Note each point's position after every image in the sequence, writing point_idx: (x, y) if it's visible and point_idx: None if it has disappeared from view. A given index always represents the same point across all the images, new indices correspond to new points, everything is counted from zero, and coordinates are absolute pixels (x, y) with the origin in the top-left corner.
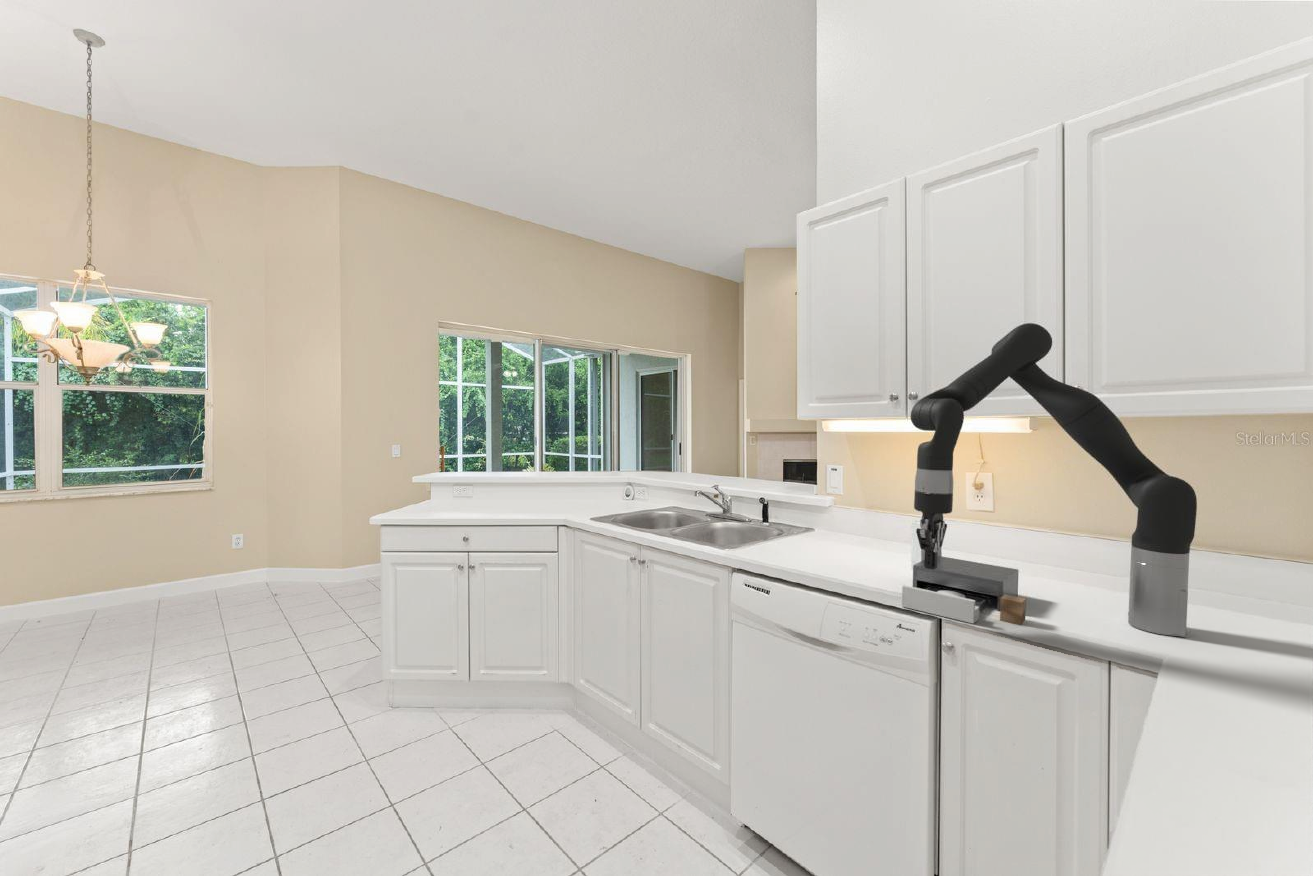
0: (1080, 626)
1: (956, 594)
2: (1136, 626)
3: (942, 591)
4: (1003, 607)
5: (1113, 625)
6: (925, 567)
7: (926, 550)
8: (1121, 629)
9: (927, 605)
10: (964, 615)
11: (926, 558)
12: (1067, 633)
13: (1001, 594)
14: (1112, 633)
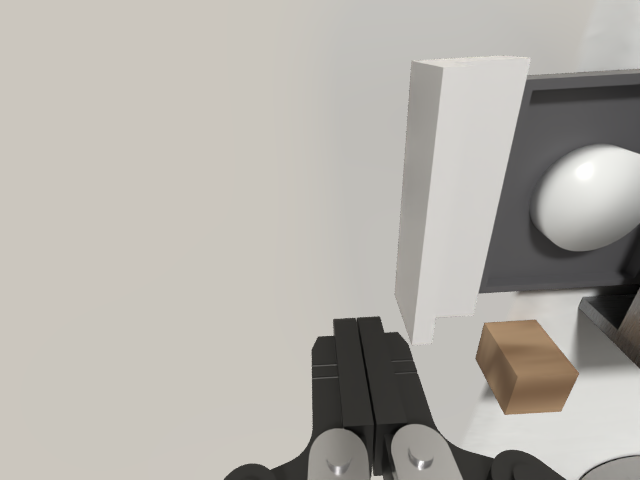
0: (553, 418)
1: (610, 219)
2: (601, 468)
3: (631, 167)
4: (501, 360)
5: (600, 444)
6: (333, 321)
7: (291, 469)
8: (578, 453)
9: (411, 178)
10: (401, 286)
11: (313, 390)
12: (482, 414)
13: (620, 345)
14: (538, 449)
